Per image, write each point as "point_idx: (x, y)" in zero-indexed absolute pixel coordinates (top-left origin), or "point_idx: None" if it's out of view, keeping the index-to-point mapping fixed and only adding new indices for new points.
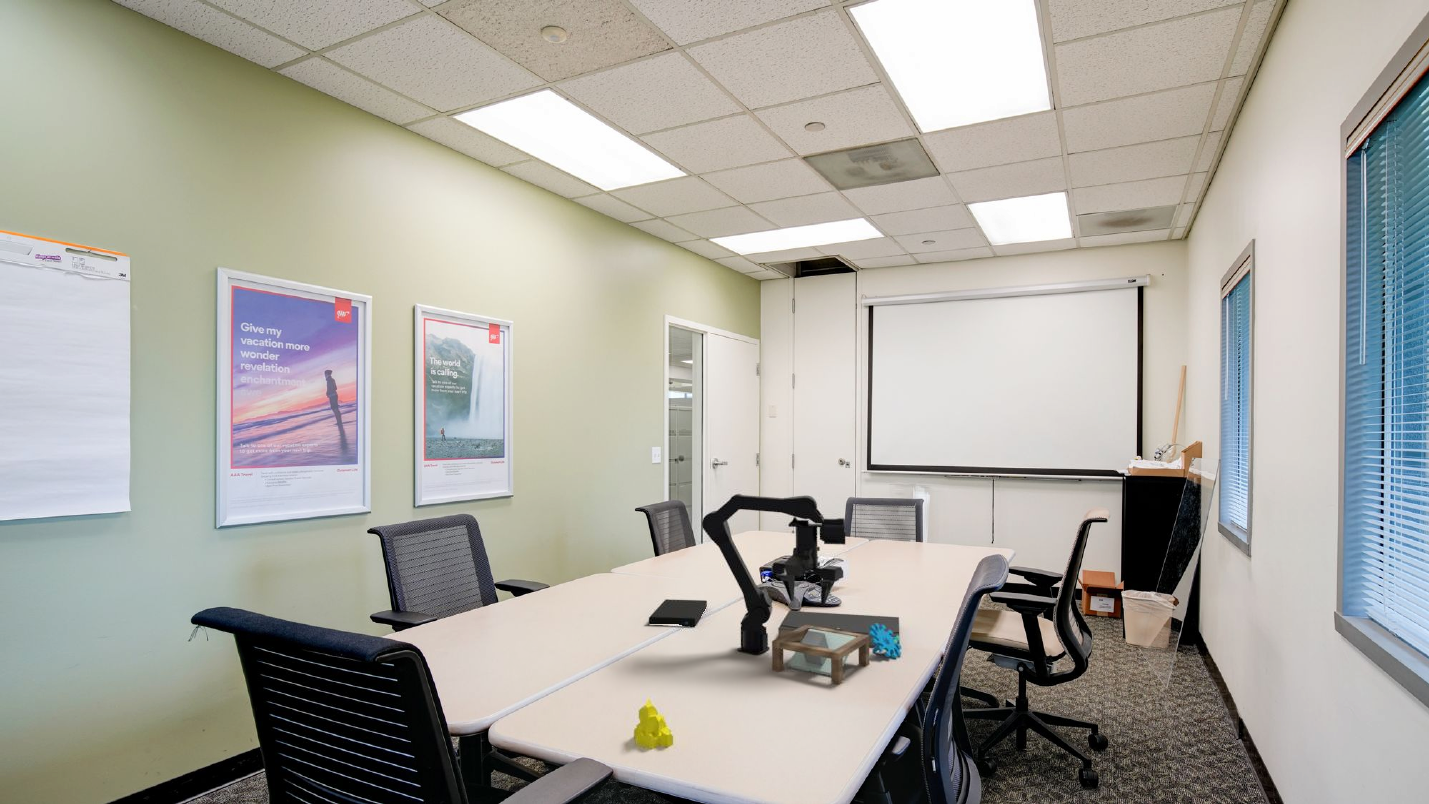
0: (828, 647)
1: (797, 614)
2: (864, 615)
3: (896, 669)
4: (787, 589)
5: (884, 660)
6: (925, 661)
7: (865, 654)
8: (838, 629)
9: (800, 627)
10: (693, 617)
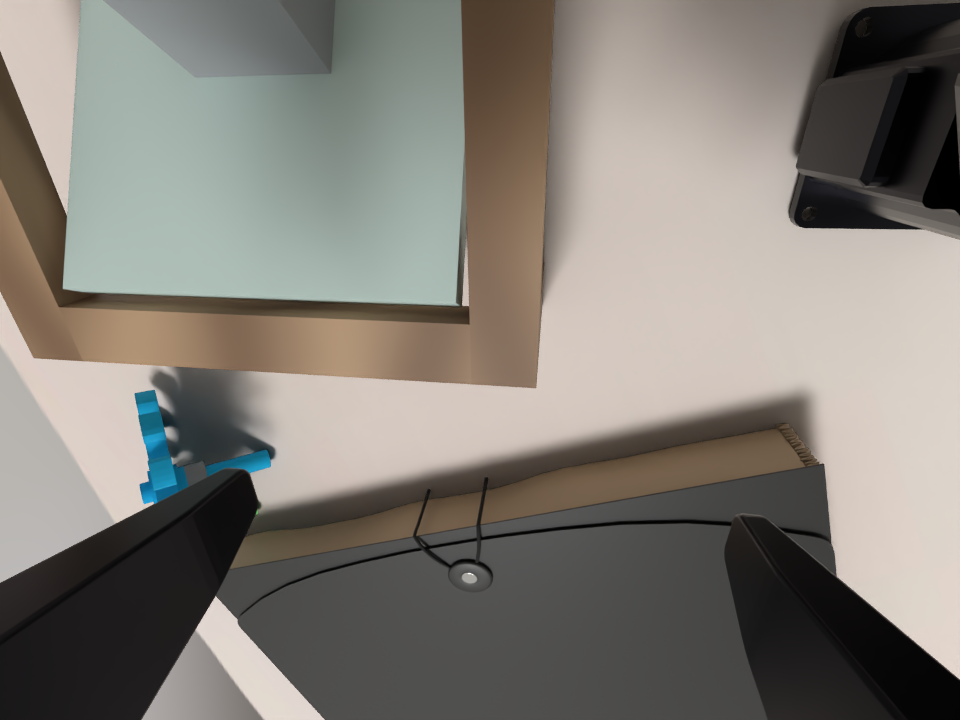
0: (222, 127)
1: None
2: None
3: None
4: (949, 703)
5: (169, 376)
6: (66, 440)
7: None
8: (457, 564)
9: (538, 289)
10: None
